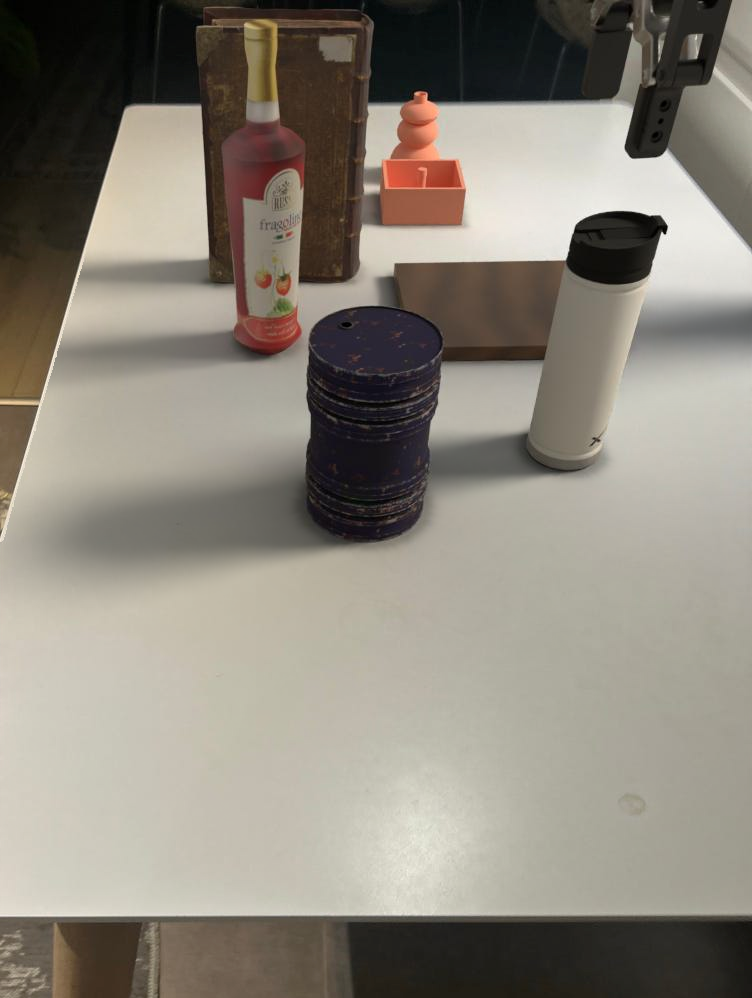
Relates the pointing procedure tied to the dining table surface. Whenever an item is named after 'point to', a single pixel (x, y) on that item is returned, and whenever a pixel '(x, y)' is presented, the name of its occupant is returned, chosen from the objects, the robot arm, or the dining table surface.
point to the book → (294, 125)
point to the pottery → (420, 173)
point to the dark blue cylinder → (370, 420)
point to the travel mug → (591, 335)
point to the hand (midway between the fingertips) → (619, 124)
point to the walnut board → (484, 305)
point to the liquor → (264, 205)
